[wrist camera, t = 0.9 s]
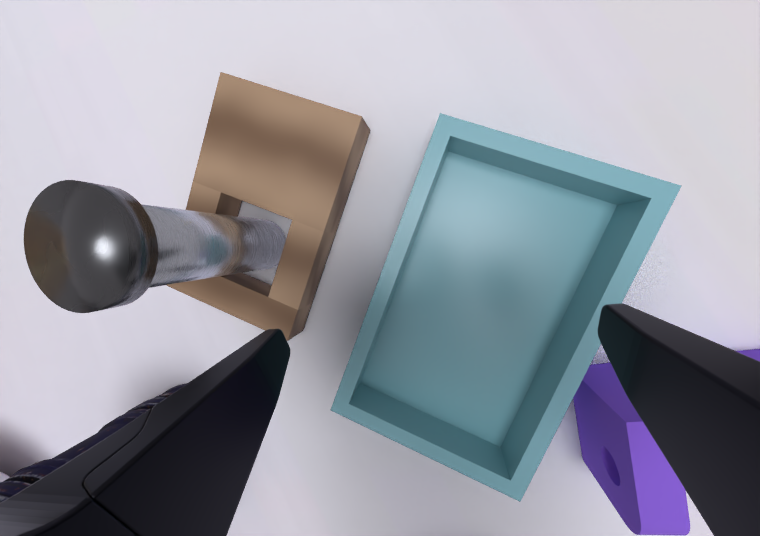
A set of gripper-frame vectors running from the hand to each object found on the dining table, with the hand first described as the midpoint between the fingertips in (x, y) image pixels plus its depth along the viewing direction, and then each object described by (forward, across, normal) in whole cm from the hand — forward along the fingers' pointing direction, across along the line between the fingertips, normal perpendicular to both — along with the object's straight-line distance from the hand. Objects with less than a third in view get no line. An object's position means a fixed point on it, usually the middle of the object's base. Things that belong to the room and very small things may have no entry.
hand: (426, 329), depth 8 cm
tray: (+12, -3, +8) cm, 14 cm away
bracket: (+9, -15, +15) cm, 23 cm away
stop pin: (+14, +13, +2) cm, 20 cm away
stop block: (+15, +12, 0) cm, 19 cm away
